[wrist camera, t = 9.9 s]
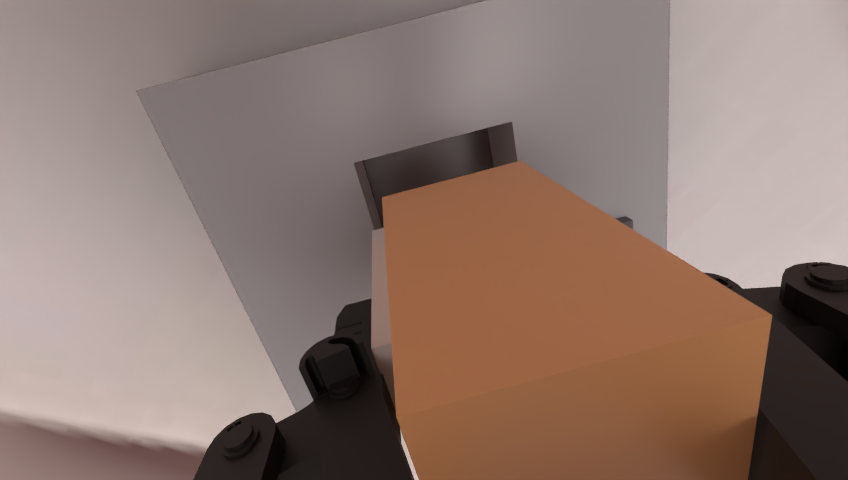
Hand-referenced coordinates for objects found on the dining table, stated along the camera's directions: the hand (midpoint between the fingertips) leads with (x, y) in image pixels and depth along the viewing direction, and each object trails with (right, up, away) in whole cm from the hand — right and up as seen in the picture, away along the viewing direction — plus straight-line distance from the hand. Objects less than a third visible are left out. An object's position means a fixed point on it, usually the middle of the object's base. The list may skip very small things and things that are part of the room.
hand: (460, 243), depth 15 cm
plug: (0, 0, 0) cm, 0 cm away
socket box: (-1, +2, +5) cm, 6 cm away
